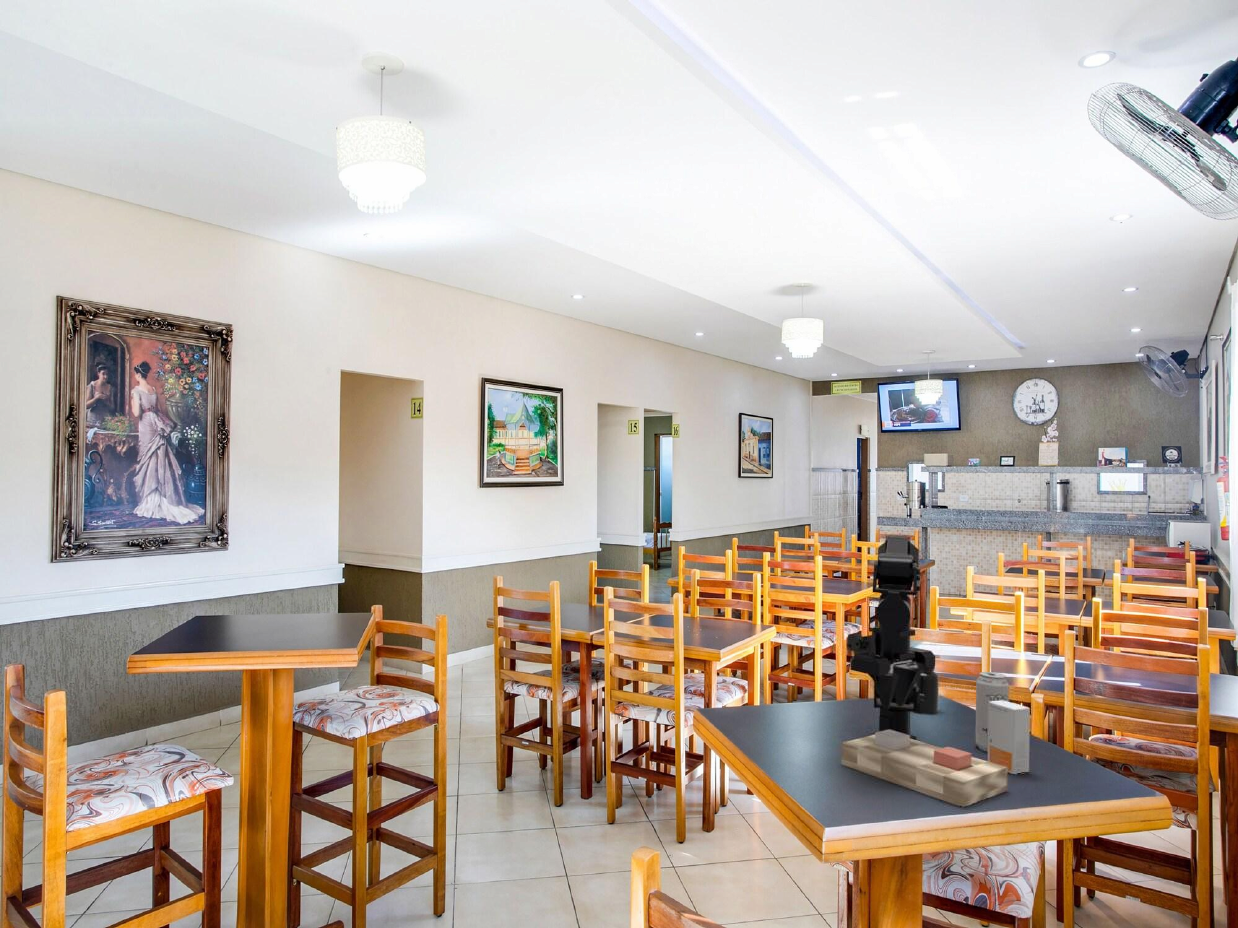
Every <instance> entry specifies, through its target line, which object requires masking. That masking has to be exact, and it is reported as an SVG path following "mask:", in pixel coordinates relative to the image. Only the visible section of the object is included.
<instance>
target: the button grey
mask: <svg viewBox="0 0 1238 928" xmlns="http://www.w3.org/2000/svg"><path fill="white" fill-rule="evenodd" d="M874 733H875V732H874ZM910 735H911V734H910ZM910 735H907V734H903V733H900V732H897V731H893V730H890V729H889V730H885V731H880V732H879V731H876V733H875V745H877V746H881V747H884V748H887V749H890V750H893V751H899V750H903V749H907V748H910Z"/></svg>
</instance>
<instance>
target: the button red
mask: <svg viewBox="0 0 1238 928" xmlns="http://www.w3.org/2000/svg"><path fill="white" fill-rule="evenodd" d="M940 748H941V749H938V750H934V764H937V765H941V766H944V767H947V768H950V769H953V770H956V771H960V770H963V769H966V768H969V767H971V762H972V757H973V756H972V752H967V751H965V750H961V749H958V748H955V747H951V746H945V747H940Z"/></svg>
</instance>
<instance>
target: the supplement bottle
mask: <svg viewBox="0 0 1238 928" xmlns="http://www.w3.org/2000/svg"><path fill="white" fill-rule="evenodd" d="M916 664H917V668H919V669H923V670H924V672H923V673H921V675H920V676H919V678H918V680H917V681H916V683H917V686H918V689H919V690H920V711H916V713H918V714H923V715H934V714H937V712H938V710H939V685H940V682H939V681H940V679H939V675H938V674H937V673H936V672H935V671H934V670H935V669H936V665H935V666H933V667H925V666H924V665H923V664H921V663H916ZM910 704H914V703H911V702H910Z"/></svg>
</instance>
